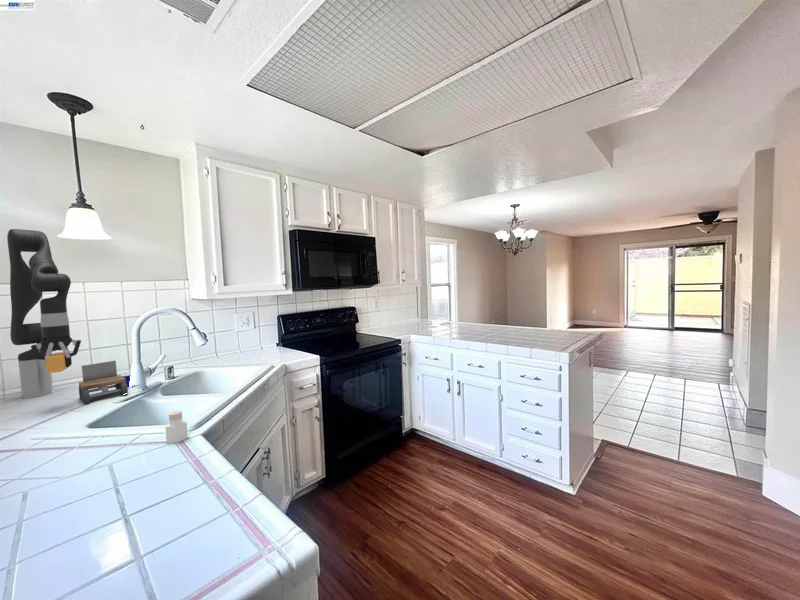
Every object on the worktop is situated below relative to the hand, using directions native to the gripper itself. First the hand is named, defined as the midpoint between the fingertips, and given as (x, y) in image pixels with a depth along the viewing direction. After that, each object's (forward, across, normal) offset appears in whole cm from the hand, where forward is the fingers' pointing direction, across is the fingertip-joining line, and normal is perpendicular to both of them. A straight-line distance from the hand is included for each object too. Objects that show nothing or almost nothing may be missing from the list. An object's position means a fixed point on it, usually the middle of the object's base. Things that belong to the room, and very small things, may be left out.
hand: (59, 367), depth 128 cm
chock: (+1, 0, 0) cm, 1 cm away
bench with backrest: (+16, -12, -7) cm, 21 cm away
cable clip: (+17, -22, -22) cm, 35 cm away
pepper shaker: (+17, -31, +69) cm, 78 cm away
